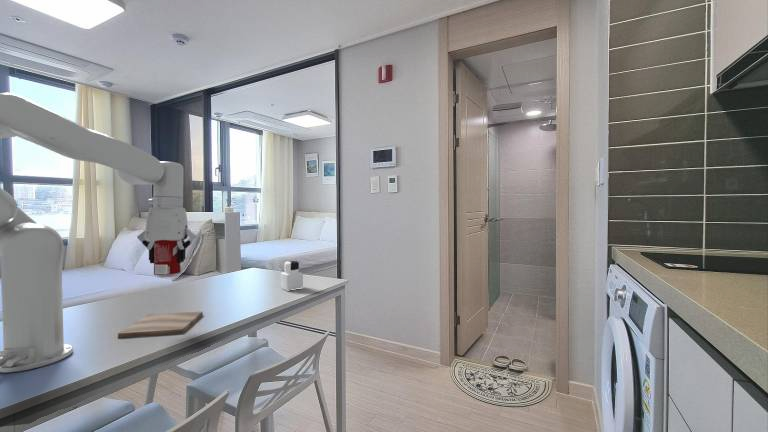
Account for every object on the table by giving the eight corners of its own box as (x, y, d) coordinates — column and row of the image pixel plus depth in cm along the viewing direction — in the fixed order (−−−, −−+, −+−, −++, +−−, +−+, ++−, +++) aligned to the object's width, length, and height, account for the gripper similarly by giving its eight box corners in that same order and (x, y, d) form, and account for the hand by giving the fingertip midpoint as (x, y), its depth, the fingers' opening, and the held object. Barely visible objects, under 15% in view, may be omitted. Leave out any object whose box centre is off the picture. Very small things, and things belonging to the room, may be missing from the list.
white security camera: (296, 286, 147) (295, 259, 147) (303, 289, 142) (302, 261, 141) (280, 288, 143) (280, 261, 142) (287, 292, 137) (287, 263, 137)
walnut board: (182, 333, 92) (182, 329, 92) (117, 337, 89) (117, 333, 89) (202, 315, 108) (202, 311, 108) (148, 318, 105) (148, 314, 105)
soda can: (167, 278, 95) (168, 237, 95) (147, 277, 96) (148, 236, 96) (185, 274, 101) (186, 235, 101) (167, 273, 103) (168, 235, 103)
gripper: (128, 202, 93) (127, 264, 93) (195, 203, 97) (194, 264, 97) (142, 203, 101) (141, 261, 101) (203, 204, 104) (202, 260, 104)
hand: (167, 262), depth 99 cm, fingers closed on soda can, 6 cm apart
